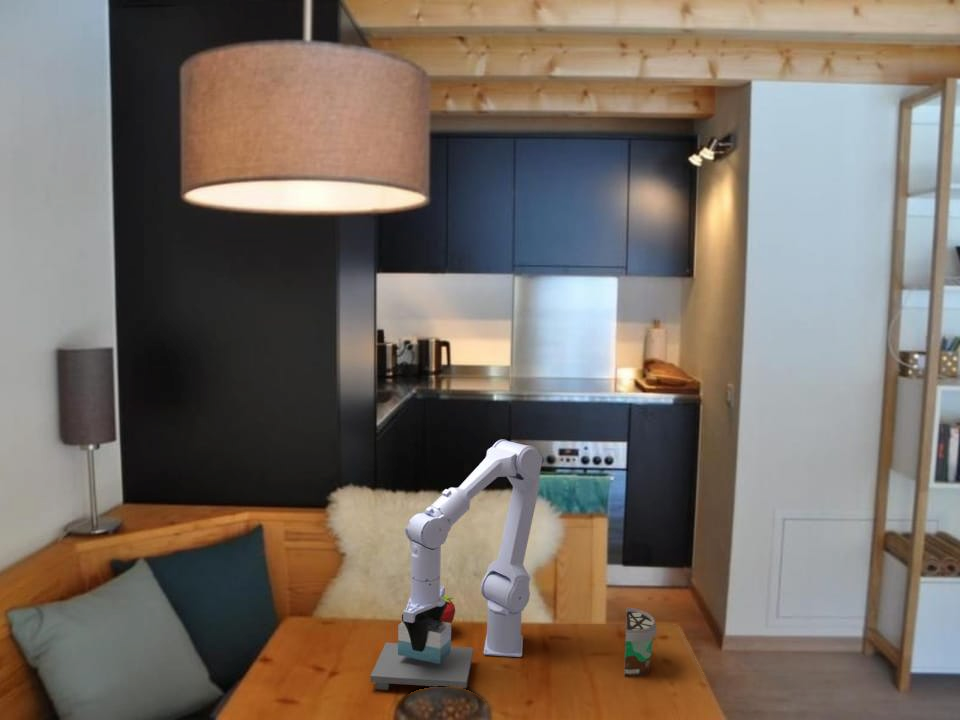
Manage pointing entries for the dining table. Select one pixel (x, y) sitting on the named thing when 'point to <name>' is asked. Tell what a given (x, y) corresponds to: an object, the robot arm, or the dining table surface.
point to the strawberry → (448, 611)
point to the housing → (427, 642)
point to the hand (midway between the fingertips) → (424, 644)
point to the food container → (638, 642)
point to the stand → (421, 669)
